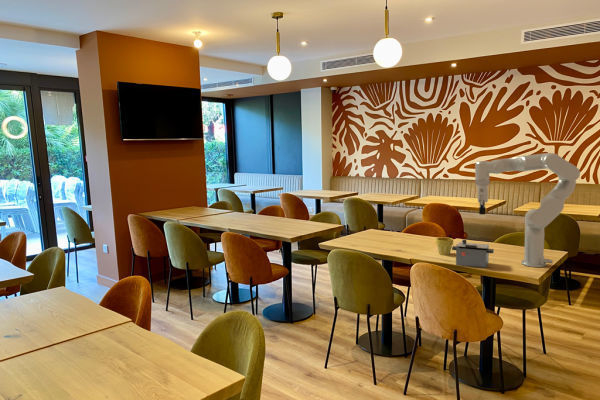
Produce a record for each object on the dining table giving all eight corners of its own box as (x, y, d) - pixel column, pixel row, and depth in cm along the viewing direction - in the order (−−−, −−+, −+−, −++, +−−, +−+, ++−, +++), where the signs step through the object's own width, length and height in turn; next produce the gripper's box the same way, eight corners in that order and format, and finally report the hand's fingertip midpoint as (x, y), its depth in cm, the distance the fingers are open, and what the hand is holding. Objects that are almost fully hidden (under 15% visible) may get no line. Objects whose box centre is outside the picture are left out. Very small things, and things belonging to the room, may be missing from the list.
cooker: (494, 263, 251) (494, 246, 250) (491, 268, 240) (492, 251, 239) (454, 259, 262) (454, 243, 260) (450, 264, 251) (450, 247, 250)
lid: (488, 246, 251) (489, 240, 251) (486, 248, 239) (486, 243, 239) (459, 243, 259) (459, 238, 259) (455, 246, 247) (456, 241, 247)
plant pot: (454, 256, 270) (454, 240, 269) (436, 255, 272) (437, 240, 271) (451, 252, 280) (452, 237, 279) (435, 251, 282) (435, 237, 281)
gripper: (488, 183, 241) (488, 216, 243) (490, 181, 254) (490, 212, 256) (474, 183, 244) (474, 216, 246) (476, 181, 258) (476, 212, 260)
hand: (482, 214), depth 251 cm, fingers closed
